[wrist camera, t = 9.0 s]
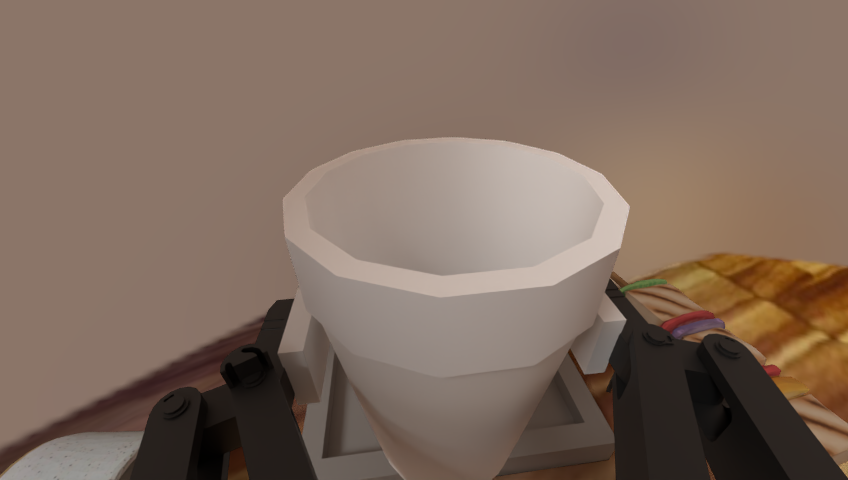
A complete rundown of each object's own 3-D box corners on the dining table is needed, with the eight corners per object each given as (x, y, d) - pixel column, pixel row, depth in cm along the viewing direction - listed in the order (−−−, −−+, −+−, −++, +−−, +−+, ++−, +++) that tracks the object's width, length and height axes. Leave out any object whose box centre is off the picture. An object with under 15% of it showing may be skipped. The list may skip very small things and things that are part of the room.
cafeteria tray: (301, 505, 23) (293, 489, 22) (330, 313, 38) (326, 296, 37) (608, 459, 25) (618, 442, 24) (521, 293, 40) (524, 277, 39)
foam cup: (313, 426, 17) (224, 191, 10) (437, 324, 23) (436, 124, 16) (460, 619, 12) (495, 396, 5) (578, 422, 17) (677, 180, 10)
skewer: (845, 467, 25) (897, 430, 22) (778, 496, 23) (823, 460, 20) (628, 284, 41) (642, 250, 39) (582, 295, 40) (592, 260, 37)
